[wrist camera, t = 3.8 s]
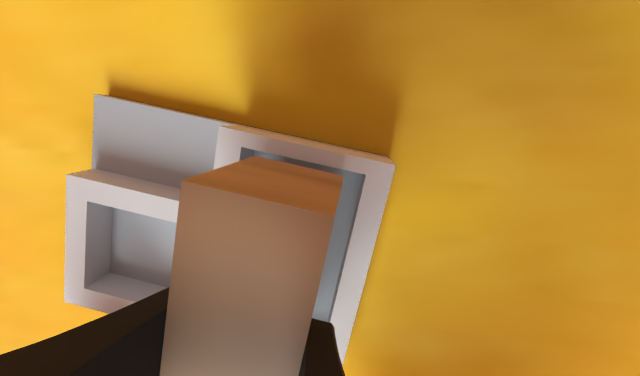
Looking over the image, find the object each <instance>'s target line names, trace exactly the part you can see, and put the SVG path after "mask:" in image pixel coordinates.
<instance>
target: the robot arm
mask: <svg viewBox="0 0 640 376" xmlns="http://www.w3.org/2000/svg"><path fill="white" fill-rule="evenodd" d="M168 296H169V287H168V288H166V289H164V290H161V291H159V292H157V293H155V294H153V295H150V296H148V297H146V298H144V299H142V300H139V301H137V302H135V303H133V304H131V305H128V306H126V307H124V308H122V309H119V310H117V311H115V312H113V313H110V314H108V315H106V316H103V317H101V318H98V319H96V320H94V321H91V322H89V323H86V324H84V325H81V326H79V327H76V328H74V329H71V330H69V331H66V332H64V333H61V334H59V335H56V336H54V337H51V338H48V339H45V340H43V341H40V342H37V343H34V344H31V345H29V346H26V347H23V348H20V349H17V350H14V351H11V352H8V353H5V354H2V355H0V376H160V367H161V358H162V350H163V341H164V332H165V323H166V314H167V305H168ZM299 376H345V374H344V371H343V367H342V363H341V360H340V356H339V351H338V347H337V342H336V337H335V328H334V326H333V325H332V323H329V322H325V321H321V320H317V319H314V318H312V319H311V324H310V328H309V332H308V337H307V341H306V345H305V350H304V354H303V358H302V363H301V367H300V372H299Z"/></svg>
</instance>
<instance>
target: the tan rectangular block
mask: <svg viewBox="0 0 640 376" xmlns="http://www.w3.org/2000/svg"><path fill="white" fill-rule="evenodd" d="M343 177H344V176H343V175H339V174H334V173H330V172H325V171H321V170H316V169H312V168H308V167H303V166H299V165H294V164H290V163H285V162H281V161H276V160H272V159H268V158H263V157H259V156H253V157H250V158H247V159H244V160H241V161H238V162H235V163H232V164H229V165H226V166H223V167H220V168H217V169H214V170H211V171H208V172H205V173H202V174H199V175H197V176H194V177H191V178H188V179H185V180H182V181H181V189H180V198H179V207H178V216H177V225H176V234H175V242H174V251H173V260H172V269H171V278H170V287H169V296H168V305H167V314H166V323H165V332H164V341H163V350H162V358H161V367H160V376H299V372H300V367H301V363H302V358H303V354H304V350H305V345H306V341H307V337H308V332H309V328H310V324H311V319H312V315H313V310H314V306H315V302H316V297H317V293H318V289H319V284H320V280H321V276H322V271H323V267H324V262H325V258H326V254H327V249H328V245H329V241H330V236H331V232H332V228H333V223H334V219H335V214H336V210H337V205H338V201H339V196H340V191H341V187H342V182H343Z"/></svg>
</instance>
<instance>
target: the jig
mask: <svg viewBox="0 0 640 376" xmlns="http://www.w3.org/2000/svg"><path fill="white" fill-rule="evenodd" d="M253 156H259V157H263V158H268V159H272V160H276V161H281V162H285V163H290V164H294V165H299V166H303V167H308V168H312V169H316V170H321V171H325V172H330V173H334V174H339V175H343V176H344V177H343V182H342V187H341V191H340V196H339V201H338V205H337V210H336V214H335V219H334V223H333V228H332V232H331V236H330V241H329V245H328V249H327V254H326V258H325V262H324V267H323V271H322V276H321V280H320V284H319V289H318V293H317V297H316V302H315V306H314V310H313V315H312V318H314V319H317V320H321V321H325V322H329V323H332V325H333V326H334V328H335V337H336V342H337V347H338V351H339V356H340V360H341V363H342V366H343V362H344V358H345V355H346V351H347V347H348V343H349V340H350V336H351V332H352V328H353V325H354V321H355V317H356V313H357V310H358V306H359V302H360V298H361V295H362V291H363V287H364V283H365V280H366V276H367V272H368V268H369V265H370V261H371V257H372V253H373V250H374V246H375V242H376V238H377V235H378V231H379V227H380V223H381V220H382V216H383V212H384V208H385V205H386V201H387V197H388V193H389V190H390V186H391V182H392V178H393V175H394V171H395V167H396V165H395V163H394V162H393V161H392V160H391V159H390V157H387V156H382V155H378V154H373V153H368V152H364V151H359V150H355V149H350V148H346V147H341V146H337V145H332V144H327V143H323V142H318V141H314V140H309V139H305V138H300V137H295V136H291V135H286V134H282V133H277V132H273V131H268V130H264V129H259V128H254V127H250V126H245V125H241V124H236V123H232V122H227V121H223V120H218V119H213V118H209V117H204V116H200V115H195V114H191V113H186V112H181V111H177V110H172V109H168V108H163V107H159V106H154V105H150V104H145V103H140V102H136V101H131V100H127V99H122V98H118V97H113V96H108V95H98V94H94V121H93V149H92V169H91V170H86V171H81V172H76V173H71V174H66V228H65V290H64V302H67V303H71V304H75V305H79V306H82V307H86V308H90V309H94V310H97V311H101V312H105V313H109V314H110V313H113V312H115V311H117V310H119V309H122V308H124V307H126V306H128V305H131V304H133V303H135V302H137V301H139V300H142V299H144V298H146V297H148V296H150V295H153V294H155V293H157V292H159V291H161V290H164V289H166V288H168V287H170V278H171V269H172V260H173V251H174V242H175V234H176V225H177V216H178V207H179V198H180V189H181V181H182V180H185V179H188V178H191V177H194V176H197V175H199V174H202V173H205V172H208V171H211V170H214V169H217V168H220V167H223V166H226V165H229V164H232V163H235V162H238V161H241V160H244V159H247V158H250V157H253Z"/></svg>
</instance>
